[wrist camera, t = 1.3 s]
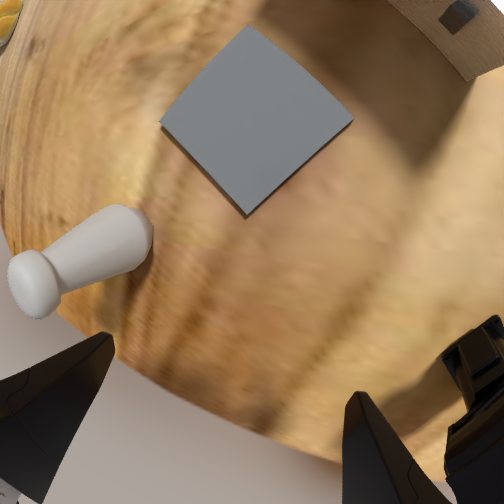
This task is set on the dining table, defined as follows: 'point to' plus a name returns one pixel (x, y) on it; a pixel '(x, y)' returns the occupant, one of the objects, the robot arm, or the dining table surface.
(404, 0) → the breaker panel
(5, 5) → the bread roll
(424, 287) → the dining table surface
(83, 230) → the salt shaker
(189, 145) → the slate pad
